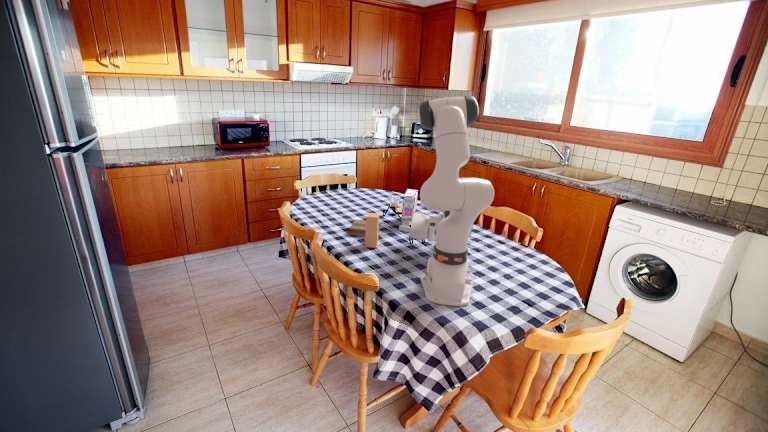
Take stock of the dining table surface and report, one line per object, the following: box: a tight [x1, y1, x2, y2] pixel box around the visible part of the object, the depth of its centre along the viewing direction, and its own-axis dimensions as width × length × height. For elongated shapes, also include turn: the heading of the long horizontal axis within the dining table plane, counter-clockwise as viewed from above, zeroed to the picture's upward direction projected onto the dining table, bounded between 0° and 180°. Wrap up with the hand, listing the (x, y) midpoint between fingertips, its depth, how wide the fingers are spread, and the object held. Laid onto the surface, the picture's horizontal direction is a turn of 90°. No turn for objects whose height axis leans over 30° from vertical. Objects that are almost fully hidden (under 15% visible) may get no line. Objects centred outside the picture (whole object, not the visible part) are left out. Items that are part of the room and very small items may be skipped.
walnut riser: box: [348, 219, 366, 237], centre depth 179 cm, size 12×12×3 cm
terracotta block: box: [364, 212, 380, 249], centre depth 163 cm, size 5×5×14 cm
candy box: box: [400, 188, 419, 227], centre depth 191 cm, size 14×6×16 cm, turn 168°
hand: (400, 223), depth 161 cm, fingers open, 8 cm apart
